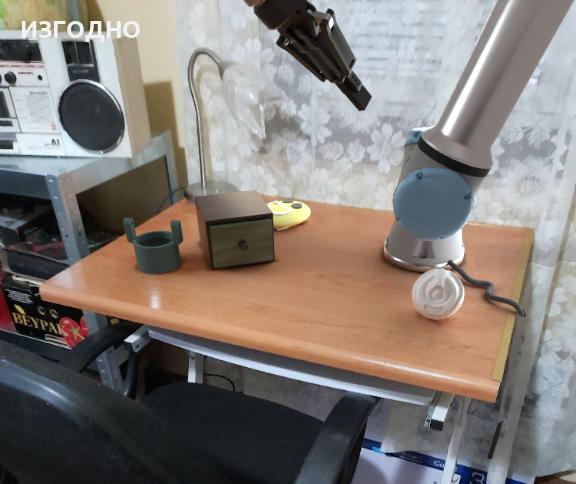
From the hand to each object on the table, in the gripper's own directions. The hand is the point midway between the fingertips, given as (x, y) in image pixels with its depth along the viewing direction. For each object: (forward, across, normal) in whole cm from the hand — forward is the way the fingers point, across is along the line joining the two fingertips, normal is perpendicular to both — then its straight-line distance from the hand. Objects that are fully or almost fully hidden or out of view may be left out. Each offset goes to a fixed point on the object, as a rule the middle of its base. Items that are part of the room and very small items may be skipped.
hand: (365, 103), depth 90 cm
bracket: (-9, -25, -39) cm, 47 cm away
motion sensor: (+18, +20, -28) cm, 39 cm away
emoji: (+13, -27, -16) cm, 34 cm away
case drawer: (+1, -18, -30) cm, 35 cm away
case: (+2, -20, -30) cm, 36 cm away
